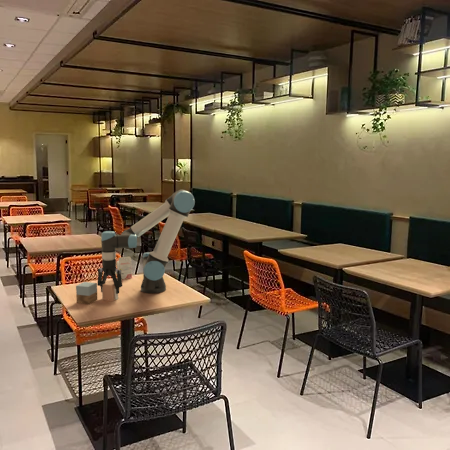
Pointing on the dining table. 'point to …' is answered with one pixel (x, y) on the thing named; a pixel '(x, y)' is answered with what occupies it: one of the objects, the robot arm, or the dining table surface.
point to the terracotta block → (108, 291)
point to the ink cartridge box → (125, 267)
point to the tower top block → (86, 288)
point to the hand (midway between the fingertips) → (110, 298)
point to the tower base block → (86, 298)
